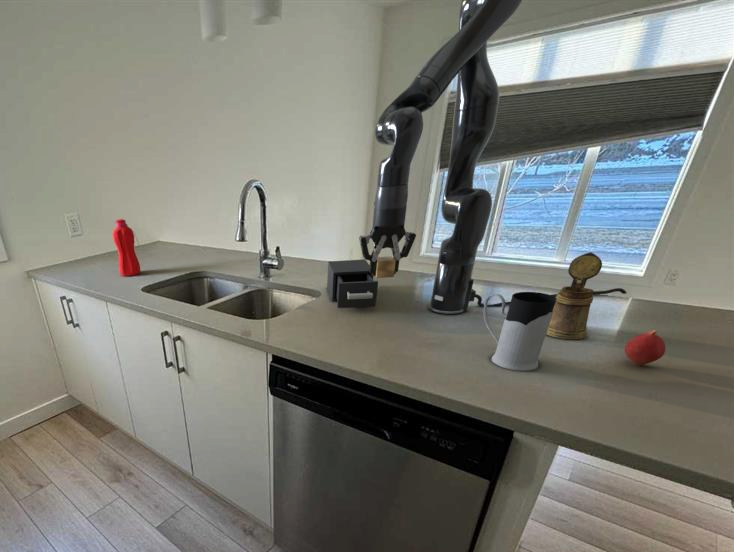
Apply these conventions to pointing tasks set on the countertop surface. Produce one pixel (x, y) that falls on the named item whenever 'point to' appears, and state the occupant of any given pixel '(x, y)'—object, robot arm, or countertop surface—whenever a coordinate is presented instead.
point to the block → (385, 267)
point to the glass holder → (522, 329)
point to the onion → (645, 348)
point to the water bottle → (126, 249)
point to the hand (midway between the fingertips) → (383, 274)
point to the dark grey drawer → (355, 291)
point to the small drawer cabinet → (344, 272)
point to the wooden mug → (575, 300)
